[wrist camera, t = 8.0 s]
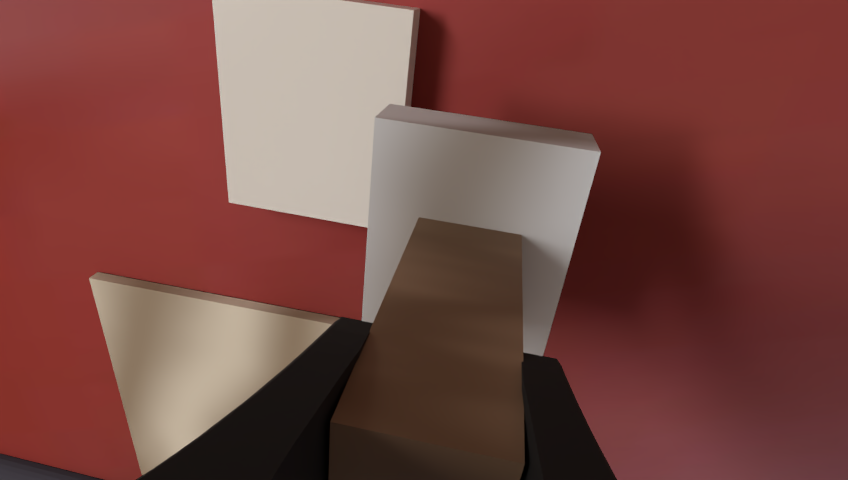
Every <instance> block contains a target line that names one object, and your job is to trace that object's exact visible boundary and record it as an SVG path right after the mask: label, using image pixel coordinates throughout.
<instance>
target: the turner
mask: <svg viewBox="0 0 848 480" xmlns="http://www.w3.org/2000/svg"><path fill="white" fill-rule="evenodd" d="M600 154H601V151H600V149H599V147H598V145H597V143H596V141H595V139H594V137H593V135H592V134H588V133H581V132H575V131H568V130H561V129H555V128H548V127H542V126H535V125H528V124H522V123H515V122H508V121H502V120H495V119H488V118H482V117H475V116H469V115H462V114H455V113H449V112H442V111H435V110H429V109H422V108H415V107H409V106H402V105H395V104H389V105H388V106H387V107H386V108H385V109H383V110H382V111H381V112H380V113H379V114H378V115H377V116H376V117H375V121H374V137H373V153H372V168H371V184H370V200H369V216H368V231H367V247H366V263H365V278H364V294H363V310H362V321H365V322H370V323H373V324H372V326H371V329H370V331H369V332H370V333H369V336H368V338H367V340H366V343H365V345H364V347H363V350H362V352H361V354H360V357H359V358H358V360H357V362H356V364H355V366H354V368H353V370H352V373H351V375H350V377H349V379H348V382H347V384H346V386H345V389H344V391H343V393H342V396H341V398H340V400H339V403H338V405H337V407H336V409H335V412H334V414H333V416H332V419H331V421H330V444H329V477H328V480H520V478H521V475H522V471H523V468H524V465H525V445H524V404H523V396H522V362H523V352H524V353H529V354H534V355H539V356H543V354H544V350H545V347H546V343H547V340H548V336H549V333H550V329H551V326H552V322H553V319H554V315H555V312H556V308H557V305H558V301H559V298H560V294H561V291H562V287H563V284H564V280H565V277H566V273H567V270H568V266H569V263H570V259H571V256H572V252H573V249H574V245H575V242H576V238H577V234H578V231H579V227H580V224H581V220H582V217H583V213H584V210H585V206H586V203H587V199H588V196H589V192H590V189H591V185H592V182H593V178H594V175H595V171H596V168H597V164H598V161H599V157H600Z"/></svg>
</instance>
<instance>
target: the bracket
mask: <svg viewBox="0 0 848 480" xmlns="http://www.w3.org/2000/svg"><path fill="white" fill-rule="evenodd" d="M0 480H103V479H99V478H95V477H91V476H87V475H83V474H79V473H75V472H71V471H67V470H63V469H59V468H55V467H51V466H47V465H43V464H40V463H36V462H32V461H28V460H24V459H20V458H16V457H12V456H8V455H4V454H0Z"/></svg>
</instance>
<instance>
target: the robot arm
mask: <svg viewBox="0 0 848 480" xmlns="http://www.w3.org/2000/svg"><path fill="white" fill-rule="evenodd" d="M372 324H373V323H370V322H365V321H360V320H355V319H350V318H344V317H341V318H340V319H338V320H336V321H335V322H334V323H333V324H332V325H331V326H330V327H329V328H328V329H327V330H326V331H325V332H324V333H323V334H321V335H320V336H319V337H318V338H317V339H316V340H315V341H314V342H313V343H312V344H311V345H310V346H309V347H308V348H306V349H305V350H304V351H303V352H302V353H301V354H300V355H299V356H298V357H296V358H295V359H294V360H293V361H292V362H291V363H290V364H289V365H287V366H286V367H285V368H284V369H283V370H282V371H280V372H279V373H278V374H277V375H276V376H275V377H273V378H272V379H271V380H270V381H269V382H267V383H266V384H265V385H264V386H263V387H262V388H260V389H259V390H258V391H257V392H256V393H254V394H253V395H252V396H251V397H250V398H248V399H247V400H246V401H245V402H243V403H242V404H241V405H239V406H238V407H237V408H235V409H234V410H233V411H232V412H230V413H229V414H228V415H226V416H225V417H224V418H222V419H221V420H220V421H219V422H217V423H216V424H215V425H213V426H212V427H211V428H209V429H208V430H207V431H205V432H204V433H203V434H202V435H200V436H199V437H197V438H196V439H195V440H193V441H192V442H191V443H189V444H188V445H186V446H185V447H184V448H182V449H181V450H179V451H178V452H177V453H175V454H174V455H172V456H171V457H169V458H168V459H166V460H165V461H163V462H162V463H161V464H159V465H158V466H156V467H155V468H153V469H152V470H150V471H149V472H147V473H146V474H144V475H142V476H141V477H139V478H138V479H136V480H328V477H329V444H330V421H331V419H332V416H333V414H334V412H335V409H336V407H337V405H338V403H339V400H340V398H341V396H342V393H343V391H344V389H345V386H346V384H347V382H348V379H349V377H350V375H351V373H352V370H353V368H354V366H355V364H356V362H357V360H358V358H359V357H360V354H361V352H362V350H363V347H364V345H365V343H366V340H367V338H368V336H369V333H370V332H369V331H370V329H371V326H372ZM522 396H523V404H524V445H525V465H524V468H523V471H522V475H521V478H520V480H617V479H616V477H615V475H614V473H613V472H612V470H611V468H610V466H609V464H608V462H607V460H606V458H605V457H604V455H603V453H602V451H601V449H600V447H599V445H598V444H597V442H596V440H595V438H594V436H593V434H592V432H591V430H590V428H589V426H588V424H587V421H586V419H585V417H584V415H583V413H582V411H581V409H580V407H579V405H578V403H577V401H576V398H575V396H574V394H573V392H572V390H571V387H570V385H569V383H568V380H567V378H566V376H565V373H564V371H563V369H562V366H561V365H560V363H559V362H558V360H557V359H555V358H549V357H544V356H539V355H534V354H529V353H524V352H523V362H522Z"/></svg>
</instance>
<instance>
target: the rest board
mask: <svg viewBox="0 0 848 480" xmlns="http://www.w3.org/2000/svg"><path fill="white" fill-rule="evenodd" d="M89 280H90V283H91V287H92V291H93V294H94V298H95V302H96V306H97V309H98V313H99V317H100V321H101V324H102V328H103V332H104V335H105V339H106V343H107V347H108V350H109V354H110V358H111V362H112V365H113V369H114V373H115V376H116V380H117V384H118V388H119V391H120V395H121V399H122V403H123V406H124V410H125V414H126V417H127V421H128V425H129V429H130V432H131V436H132V440H133V444H134V447H135V451H136V455H137V458H138V462H139V466H140V470H141V473H142V475H144V474H146V473H147V472H149V471H150V470H152V469H153V468H155V467H156V466H158V465H159V464H161V463H162V462H163V461H165V460H166V459H168V458H169V457H171V456H172V455H174V454H175V453H177V452H178V451H179V450H181V449H182V448H184V447H185V446H186V445H188V444H189V443H191V442H192V441H193V440H195V439H196V438H197V437H199V436H200V435H202V434H203V433H204V432H205V431H207V430H208V429H209V428H211V427H212V426H213V425H215V424H216V423H217V422H219V421H220V420H221V419H222V418H224V417H225V416H226V415H228V414H229V413H230V412H232V411H233V410H234V409H235V408H237V407H238V406H239V405H241V404H242V403H243V402H245V401H246V400H247V399H248V398H250V397H251V396H252V395H253V394H254V393H256V392H257V391H258V390H259V389H260V388H262V387H263V386H264V385H265V384H266V383H267V382H269V381H270V380H271V379H272V378H273V377H275V376H276V375H277V374H278V373H279V372H280V371H282V370H283V369H284V368H285V367H286V366H287V365H289V364H290V363H291V362H292V361H293V360H294V359H295V358H296V357H298V356H299V355H300V354H301V353H302V352H303V351H304V350H305V349H306V348H308V347H309V346H310V345H311V344H312V343H313V342H314V341H315V340H316V339H317V338H318V337H319V336H320V335H321V334H323V333H324V332H325V331H326V330H327V329H328V328H329V327H330V326H331V325H332V324H333V323H334V322H335V321H336V320H338V319H340V318H339V317H333V316H328V315H323V314H317V313H312V312H307V311H302V310H296V309H291V308H286V307H280V306H275V305H270V304H264V303H259V302H254V301H249V300H243V299H238V298H233V297H227V296H222V295H217V294H211V293H206V292H201V291H195V290H190V289H185V288H180V287H174V286H169V285H164V284H158V283H153V282H148V281H142V280H137V279H132V278H127V277H121V276H116V275H111V274H105V273H100V272H97V273H96V274H94V275H93V276H91V277H90V278H89Z"/></svg>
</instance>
